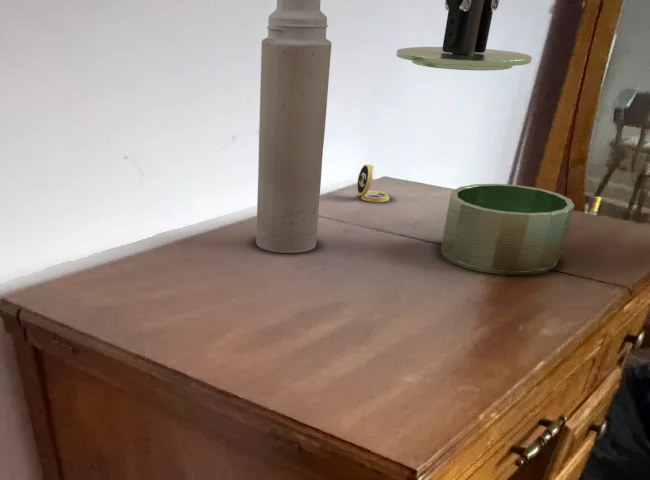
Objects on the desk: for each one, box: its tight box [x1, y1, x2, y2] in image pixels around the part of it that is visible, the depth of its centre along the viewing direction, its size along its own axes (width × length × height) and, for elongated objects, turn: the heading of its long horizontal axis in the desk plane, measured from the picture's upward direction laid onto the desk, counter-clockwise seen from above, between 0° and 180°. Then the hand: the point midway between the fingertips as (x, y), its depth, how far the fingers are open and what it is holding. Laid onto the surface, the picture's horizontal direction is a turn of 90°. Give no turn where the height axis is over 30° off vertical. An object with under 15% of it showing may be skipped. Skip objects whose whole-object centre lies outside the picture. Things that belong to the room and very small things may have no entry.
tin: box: [440, 183, 575, 276], centre depth 91 cm, size 15×15×7 cm
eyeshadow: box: [356, 164, 390, 203], centre depth 113 cm, size 4×5×5 cm
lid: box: [395, 0, 533, 71], centre depth 84 cm, size 16×16×7 cm
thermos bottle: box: [255, 0, 332, 254], centre depth 87 cm, size 8×8×28 cm
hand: (463, 50), depth 85 cm, fingers closed on lid, 2 cm apart
